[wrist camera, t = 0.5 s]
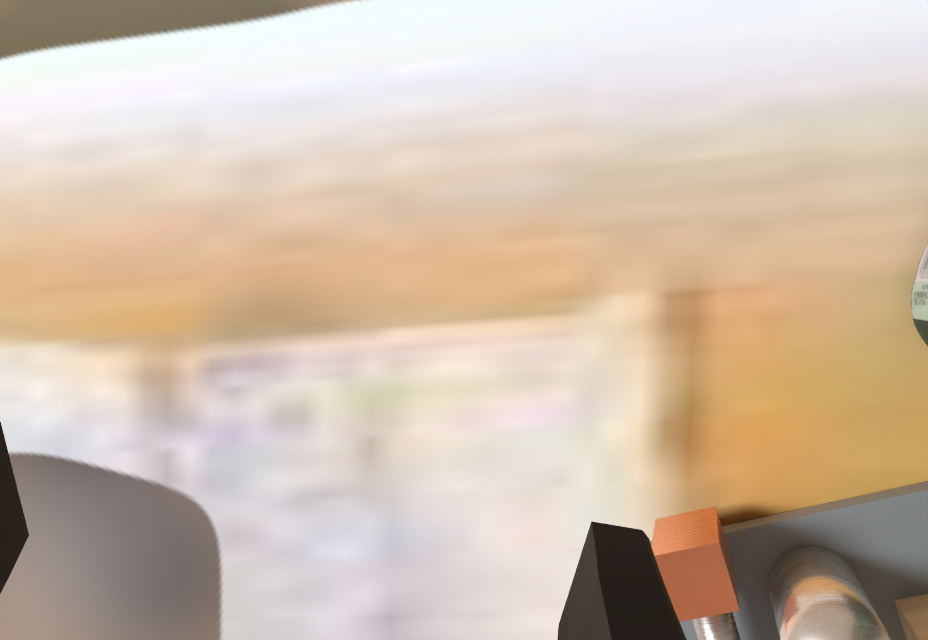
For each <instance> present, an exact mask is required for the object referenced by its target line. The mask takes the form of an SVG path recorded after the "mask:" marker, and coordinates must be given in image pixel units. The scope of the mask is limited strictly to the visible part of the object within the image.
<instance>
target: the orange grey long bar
mask: <svg viewBox="0 0 928 640" xmlns="http://www.w3.org/2000/svg"><path fill="white" fill-rule="evenodd" d="M652 550H653V553H654V556H655V559H656V562H657V565H658V567H659V570H660V573H661V576H662V578H663V581H664V584H665V587H666V589H667V592H668V594H669V597H670V600H671V602H672V605H673V607H674V610H675V612H676V615H677V617H678V620H679V622H682V621H687V620H692V622H693V626H694V629H695V632H696V636H697V639H698V640H741V639H740V635H739V632H738V629H737V626H736V622H735V619H734V616H733V612H735V611H740V608H739V601H738V594H737V587H736V581H735V574H734V567H733V563H732V559H731V556H730V553H729V549H728V546H727V543H726V539H725V536H724V533H723V529H722V526H721V523H720V519H719V516H718V513H717V510H716V506H715V507H710V508H706V509H701V510H697V511H692V512H688V513H683V514H679V515H674V516H670V517H666V518H661V519H657V520H656V521H655V528H654V534H653V541H652Z"/></svg>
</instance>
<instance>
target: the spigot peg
mask: <svg viewBox="0 0 928 640" xmlns="http://www.w3.org/2000/svg"><path fill="white" fill-rule="evenodd" d="M768 591H769V596H770V600H771V604H772V608H773V612H774V616H775V620H776V624H777V628H778V632H779V636H780V640H891V638H890V637H889V635H888V633H887V631H886V629H885V628H884V626H883V624H882V622H881V620H880V619H879V617H878V615H877V613H876V611H875V610H874V608H873V606H872V604H871V602H870V601H869V599H868V597H867V595H866V593H865V592H864V590H863V588H862V586H861V584H860V583H859V581H858V579H857V577H856V575H855V574H854V572H853V570H852V568H851V567H850V565H849V564H848V563H847V562H846V560H845V559H844V558H842V557H841V556H840V555H839V554H837V553H836V552H834V551H832V550H830V549H828V548H825V547H821V546H816V545H803V546H798V547H794V548H792V549H789V550H788V551H786V552H784V553H783V554H782V555H780V556H779V557H778V558H777V559H776V561H775V562H774V563H773V565H772V567H771V569H770V572H769V576H768Z"/></svg>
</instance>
